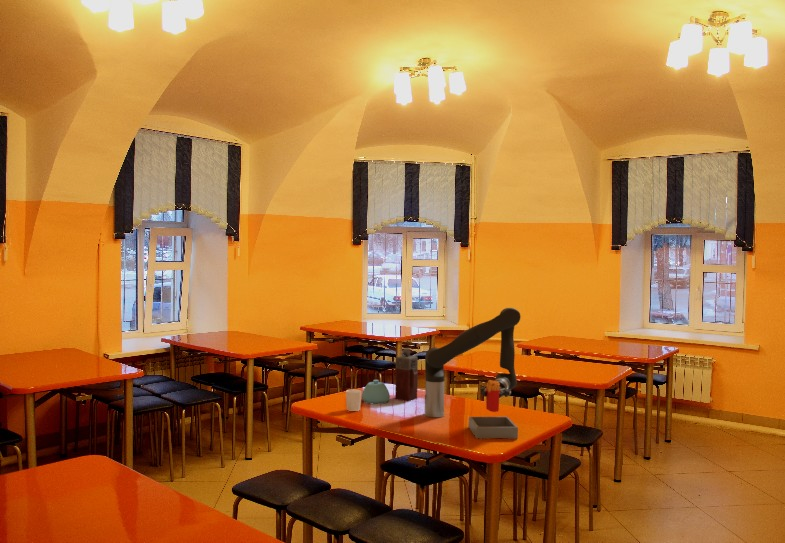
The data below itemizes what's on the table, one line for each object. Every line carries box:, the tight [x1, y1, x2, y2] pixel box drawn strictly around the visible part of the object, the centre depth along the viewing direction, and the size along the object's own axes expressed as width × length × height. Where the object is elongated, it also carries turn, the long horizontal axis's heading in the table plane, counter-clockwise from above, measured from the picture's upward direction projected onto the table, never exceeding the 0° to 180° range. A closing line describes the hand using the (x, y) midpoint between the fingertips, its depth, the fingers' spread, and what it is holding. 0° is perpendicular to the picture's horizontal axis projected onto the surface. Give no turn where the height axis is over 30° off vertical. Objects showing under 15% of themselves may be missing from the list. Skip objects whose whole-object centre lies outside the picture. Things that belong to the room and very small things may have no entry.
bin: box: [468, 416, 519, 440], centre depth 277 cm, size 18×18×5 cm
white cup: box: [345, 388, 363, 412], centre depth 314 cm, size 8×8×10 cm
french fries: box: [485, 379, 500, 413], centre depth 277 cm, size 9×4×13 cm, turn 15°
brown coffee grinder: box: [394, 347, 419, 402], centre depth 340 cm, size 9×11×28 cm
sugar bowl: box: [361, 379, 391, 405], centre depth 335 cm, size 15×15×12 cm
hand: (491, 395), depth 275 cm, fingers closed on french fries, 5 cm apart
